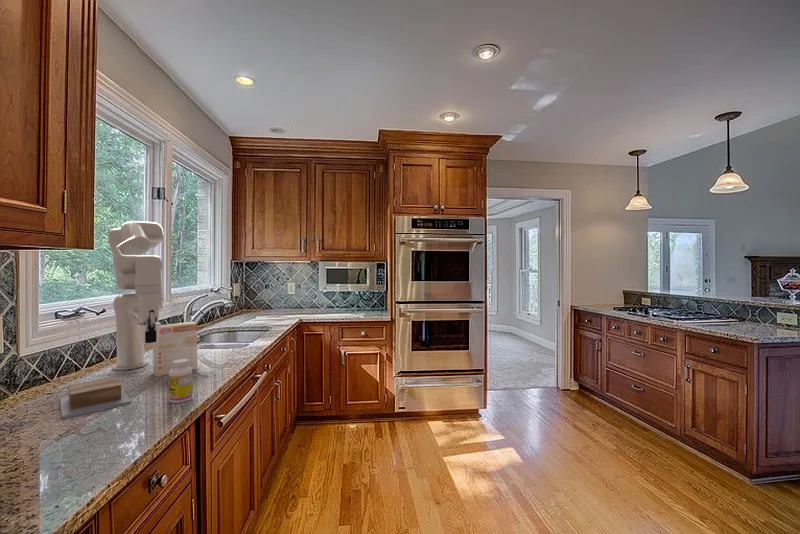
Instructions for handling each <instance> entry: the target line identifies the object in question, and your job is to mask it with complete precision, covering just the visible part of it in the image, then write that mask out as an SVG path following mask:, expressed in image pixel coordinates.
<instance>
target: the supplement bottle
mask: <svg viewBox="0 0 800 534" xmlns="http://www.w3.org/2000/svg"><path fill="white" fill-rule="evenodd" d="M188 364H189V360H188V359H179V360H175V361H172V366H173V369H171V370H170V371H169V374H168V402H169V403H171V404H182V403H185V402H188V401H190V400H192V399H193V395H194V394H193V393H194V390H193V384H194V383H193V370H192V368H191V367H188Z"/></svg>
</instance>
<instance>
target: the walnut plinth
mask: <svg viewBox="0 0 800 534" xmlns="http://www.w3.org/2000/svg"><path fill="white" fill-rule="evenodd" d="M121 386H122V384H121V382H120V380H118V378H117V376H113V377H108V378H102V379H97V380H91V381H86V382H79V383H74V384H73V383H72V384H68V396H69V403H70V409H71V410H74V409H79V408H83V407H88V406H93V405H97V404H102V403H107V402H111V401H116V400H121Z"/></svg>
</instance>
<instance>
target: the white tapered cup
mask: <svg viewBox="0 0 800 534" xmlns="http://www.w3.org/2000/svg"><path fill="white" fill-rule="evenodd" d="M148 325H149V324H148ZM160 325H161V322H159V321H157V322H156V338H157V341H156V342H153V343H145V332H146V323H144V324H142V323H140V324H137V329H138V337H139V344H141V345H144V346H145V345H153V344H154V343H158V342H159V333H160Z"/></svg>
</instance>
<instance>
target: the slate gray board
mask: <svg viewBox="0 0 800 534" xmlns="http://www.w3.org/2000/svg"><path fill="white" fill-rule="evenodd" d="M59 403H60V404H59V405H60V412H61V419H62V420H64V419H68V418H72V417H76V416H82V415H86V414H91V413H95V412H99V411H103V410H104V411H105V410H108V409H113V408H117V407H121V406H126V405H130V404H132V400H131V399H130V396H128V394H127V392H126V391H125V388H124V387H123V386H122V385H121V400H116V401H111V402H107V403H102V404H97V405H93V406H88V407H83V408H79V409H74V410H71V409H70V403H69V395H68V396H64V397H63V396H62V397H60V398H59Z"/></svg>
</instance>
